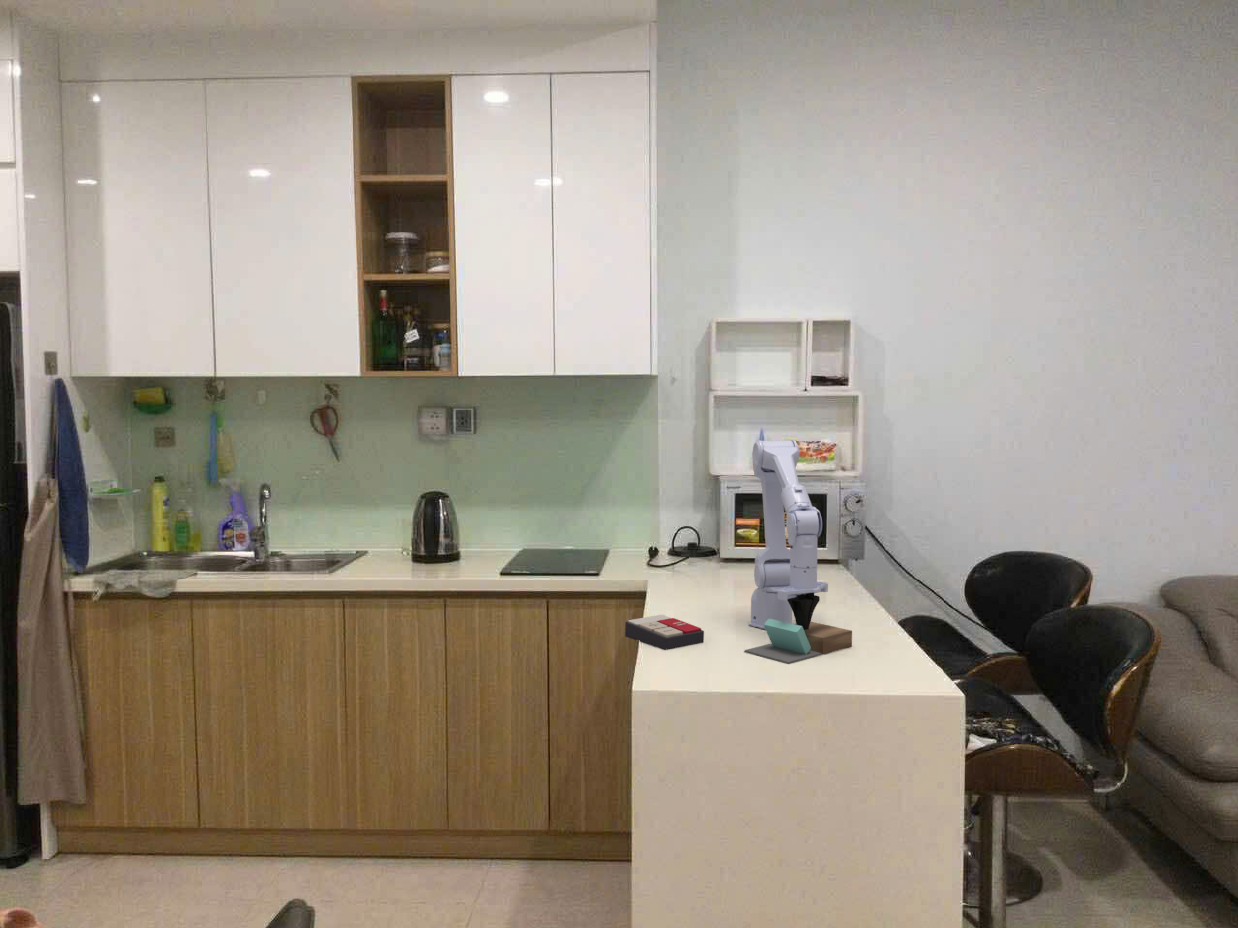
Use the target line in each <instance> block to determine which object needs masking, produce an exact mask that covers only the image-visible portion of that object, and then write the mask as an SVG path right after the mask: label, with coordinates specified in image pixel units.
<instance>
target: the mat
mask: <svg viewBox="0 0 1238 928" xmlns="http://www.w3.org/2000/svg"><path fill="white" fill-rule="evenodd" d="M743 652H744V653H747V654H750V655H754V656H758V657H762V658H765V659H768V660H772V661H777V662H780V663H784V664H787V665H790V664H794V663H798V662H802V661H804V660H805V661H806V660H808V659H812V658H817V657H819V656H822V654H821V653H819V652H815V651H811V650H809V652H808V653H807V654H802V653H798V652H794V651H790V650H786V649H783V648H779V647H775V646H772V643H771V642H770V643H768V644H764V645H760V646H755V647H751V648H747V649H744V651H743Z"/></svg>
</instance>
